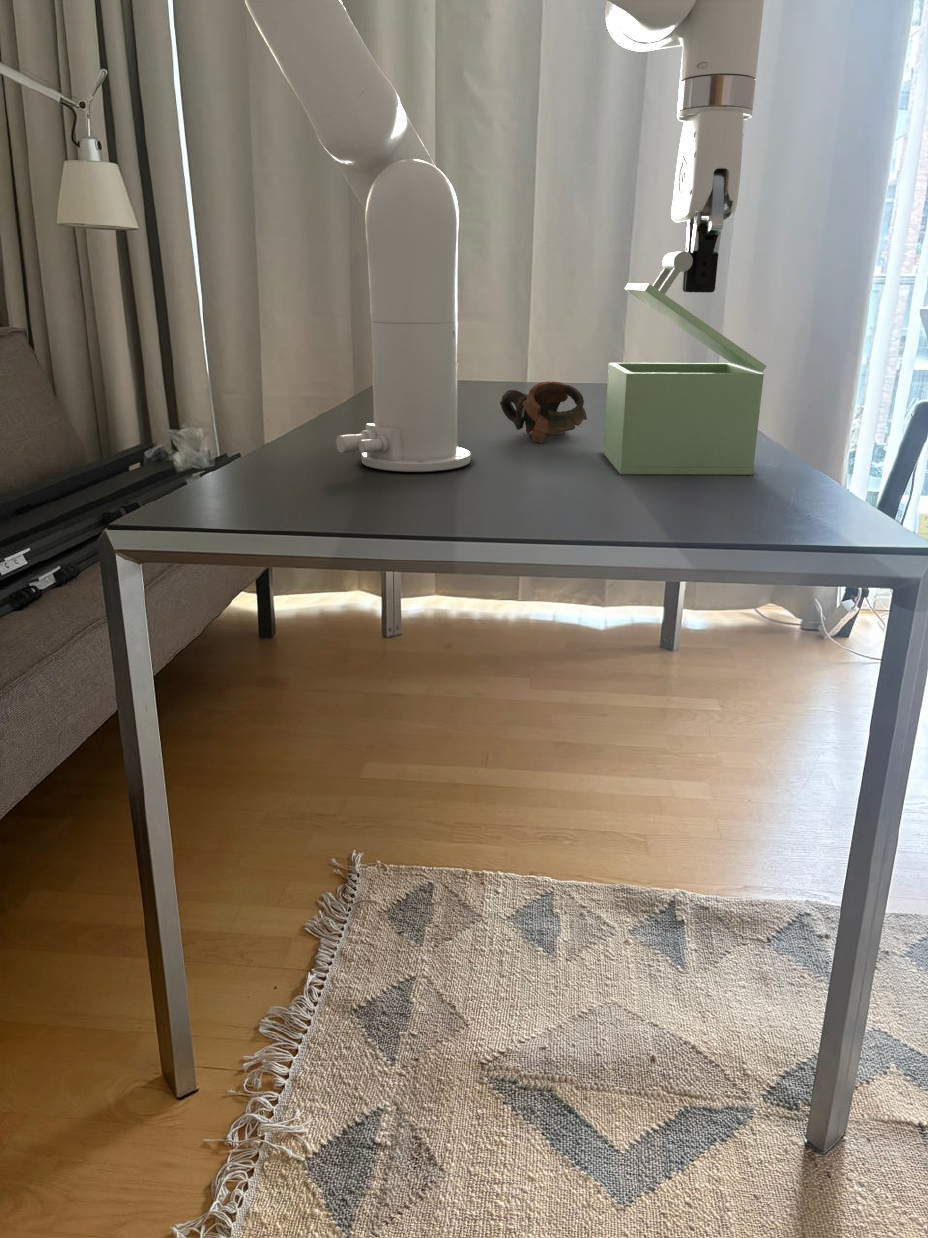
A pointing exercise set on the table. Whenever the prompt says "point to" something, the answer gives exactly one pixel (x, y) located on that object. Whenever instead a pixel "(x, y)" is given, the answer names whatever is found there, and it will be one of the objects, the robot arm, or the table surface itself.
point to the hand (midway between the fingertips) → (698, 291)
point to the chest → (682, 418)
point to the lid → (684, 318)
